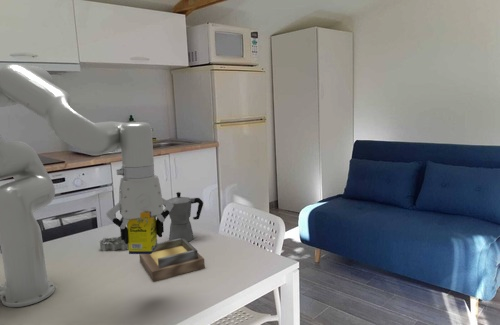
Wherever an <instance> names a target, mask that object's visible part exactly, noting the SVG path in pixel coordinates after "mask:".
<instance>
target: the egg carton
mask: <svg viewBox="0 0 500 325" xmlns="http://www.w3.org/2000/svg"><path fill="white" fill-rule="evenodd" d="M99 247H100V251H101V250H102V251H103V252H105V251H108V250H112V252H113V251H118V250H121V251H125V250H129V246H128V244H125V242H124V240H121V235H119V236H113V237H104V238H102V239H101V240H100V241H99Z"/></svg>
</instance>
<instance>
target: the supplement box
mask: <svg viewBox="0 0 500 325" xmlns="http://www.w3.org/2000/svg"><path fill="white" fill-rule="evenodd" d="M156 220H157V217H156V216H151V211H150V212H142V213H141V214H140V218H138V219H133V220H129V221H128V223H127V225H126V227H127V228H128V239H129V243H128V246H129V249H128V254H129V255H139V254H152V252H153V250H154V249H155V247H156V246H157V243H158V235H157V229H156Z"/></svg>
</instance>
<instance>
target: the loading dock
mask: <svg viewBox="0 0 500 325" xmlns="http://www.w3.org/2000/svg"><path fill="white" fill-rule="evenodd" d="M138 255H139V256H138V257H139V263H140V264H141V266H142V267H143V268H144V270H145V271H146V273H147V275H148V276H149V278H150V279H151V281H152V282H157V281H161V280H165V279H169V278H173V277H176V276H179V275H184V274H187V273H191V272H194V271H198V270H202V269H205V267H206V266H205V264H206V263H205V258H204V257H203V256H202V255H201V254H200V253H199V252H198V250H197V249H196V248H195V247H194V246H193V245H192V244H191V243H190V241H189V242H188V241H186V240H185V239H184V238H179V239H174V240H167V241H166V240H165V241H162V242H157V246H156V247H155V249H154V250H153V252H152V254H138Z"/></svg>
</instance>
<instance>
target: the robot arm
mask: <svg viewBox="0 0 500 325" xmlns="http://www.w3.org/2000/svg"><path fill="white" fill-rule="evenodd" d="M53 79H54V78H53V77H52V75H51V74H50V72H48V71H47V70H46V69H44V68H43V67H40V66H36V65H32V64H31V65H28V64H24V63H23V64H20V63H8V64H5V65H3V66H1V67H0V108H5V107H11V106H14V105H20V106H23V107H24V108H26V109H27V110H29V111H31V112H32V113H34V114H36V115H37V116H39V117H41V118H42V119H43V120H45V122H47V124H48V126H49V128H50V129H51V130H52V131H53V133H54V134H55V136H57V137H58V138H59V139H61V140H62V141H63V142H65V143H67V145H69V146H71V147H73V148H74V149H75V150H77V151H80V152H82V153H83V154H86V155H90V156H94V157H95V156H101V155H105V154H108V153H111V152H115V151H119V150H121V151H120V152H121V162H122V163H121V167H120V168H119V169H116V175H117V176H122V177H121V178H120V181H119V193H118V196H119V198H118V199H119V200H118V202H117V203H116V204H115V205H114V206H113V207H112V208H111V209H109V210H108V211H107V212H106V213H105V214H106V217H107V218H109V219H110V221H111V222H112V223H113V224H115V226H118V227H119V229H120V236H121V240H124V242H125V244H128V243H129V239H128V228H127V223H128V221H129V220H133V219H138V218H140V214H141V213H142V212H150V211H151V216H156V229H157V237H159V238H162V237H163V233H164V222H165V220H166V218H167V217H168V216H169V212H170V211H171V209H172V208H173V206H174V205H173V204H172V203H171V202H169V201H167V200H168V199H165V198H164V197H162V196H163V195H162V189H161V183H160V179H159V176H158V175H156V174H155V164H154V163H155V162H154V161H155V160H154V147H153V143H154V142H153V129H152V126H151V124H150V123H148V122H144V121H138V122H137V121H136V122H135V121H133V122H132V121H131V122H122V121H113V120H110V121H109V120H108V121H101V122H93V121H91V120H89V119H88V118H86V117H85V116H83V115H81V114H80V113H79V112H77V111H75V110H74V109H73V108H72V107H71V106H70V104H71V95H70V93H68V92H67V91H66V90H65V89H62V88H61V87H59V86H58V85H55V84H54V80H53ZM12 177H13V179H14V180H13V181H9V182H6V183H5V184H2V185H0V251H1V257H2V259H1V260H2V264H3V270H4V277H5V283H3V284H1V285H0V297H1V303H2V305H3V306H6V307H8V308H19V307H21V308H22V307H27V306H29V305H33V304H36V303H38V302H39V303H40V302H42V301H43V300H45V299H47V298H49V297H50V296H51V295H52V294H54V292H55V291H56V285H55V283H54V282H53V281H51V280H49V279H48V272H47V264H46V257H45V250H44V242H43V237H42V236H43V235H42V229H41V226H40V225H39V224H40V223H39V222H38V220H37V219H36V217H35V216H34V213H35V212H37V211H38V210H40V209H42V208H43V209H44V208H45V207H47V206H48V205H50V204H51V203H52V202H53V200H55V195H56V190H55V189H56V188H55V185H54V182H53V181H52V179H51V176H50V174H48V171H47V169H46V168H45V165H44V164H43V162H42V161H41V159H40V157H39V155H38V154H37V151H36V150H35V149H34V148H33V147H32V146H31V145H29V144H28V143H26V142H24V141H20V140H9V141H5V140H4V138H3V137H2V135H1V134H0V181H3V180H7V179H10V178H12ZM163 204H164V205H166V208H165V207H164V205H163ZM118 212H119V214H120V215H121V218H120V219H119V218H117V217H116V216H115V214H117V213H118Z"/></svg>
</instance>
